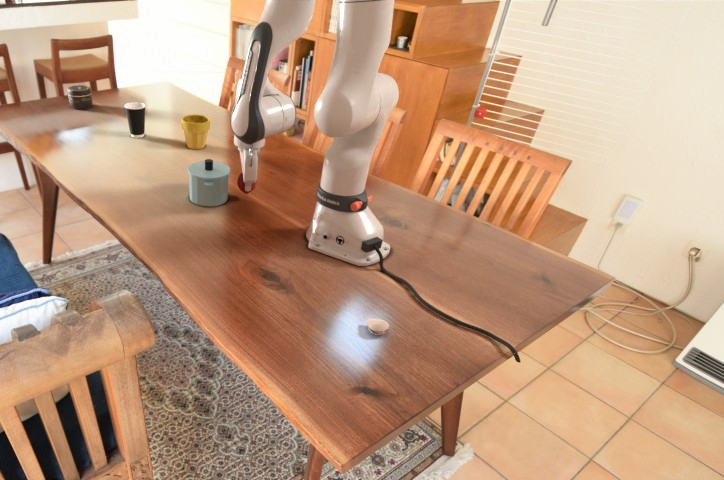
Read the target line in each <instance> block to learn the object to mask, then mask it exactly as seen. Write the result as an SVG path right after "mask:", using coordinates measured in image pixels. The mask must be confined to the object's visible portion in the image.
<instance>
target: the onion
mask: <svg viewBox="0 0 724 480" xmlns="http://www.w3.org/2000/svg"><path fill="white" fill-rule="evenodd" d="M257 184H258V180H256V182H255V183H252V185H251V191H245V182H244V180H243V173H242V172H241V173H240V174H239V175H238V177H237V182H236V185H237V187H238V189H239V191H240V192H242V193H243V194H245V195H248V194H249V193H251V192H252V191H254V190H255V189H256V187H257Z"/></svg>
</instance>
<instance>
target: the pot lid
mask: <svg viewBox="0 0 724 480" xmlns="http://www.w3.org/2000/svg"><path fill="white" fill-rule="evenodd" d="M186 170H187V171H186V172H187V173H188V175H189V174H190V175H191V176H193V177H196V178H200V179H219V178H223V177H226V176H227V175H230V174H231V167H230V166H229V165H228V164H226V163H223V162H220V161H214V160H213V159H211V158H206V159H205V160H202V161H197V162H193V163H191V164H189V165H188V166H187V169H186Z"/></svg>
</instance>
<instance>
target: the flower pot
mask: <svg viewBox="0 0 724 480" xmlns="http://www.w3.org/2000/svg"><path fill="white" fill-rule="evenodd" d="M181 129H182V131H183V134H184V139H185V143H186V147H187V148H189V149H192V150H202V149H204V148H205V146H206V142H207V137H208V132H209V131H210V129H211V118H210V117H209V116H207V115H204V114H187V115H184V116H182V118H181Z"/></svg>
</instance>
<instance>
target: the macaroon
mask: <svg viewBox="0 0 724 480" xmlns="http://www.w3.org/2000/svg"><path fill="white" fill-rule="evenodd" d="M366 326H367V329H368V331H369V332H370V333H371V334H373V335H377V336H381V335H385V334H386V333H387V332H388V330H389V328H390V324H389V322H387V321H386V320H384V319H380V318H367V319H366Z"/></svg>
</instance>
